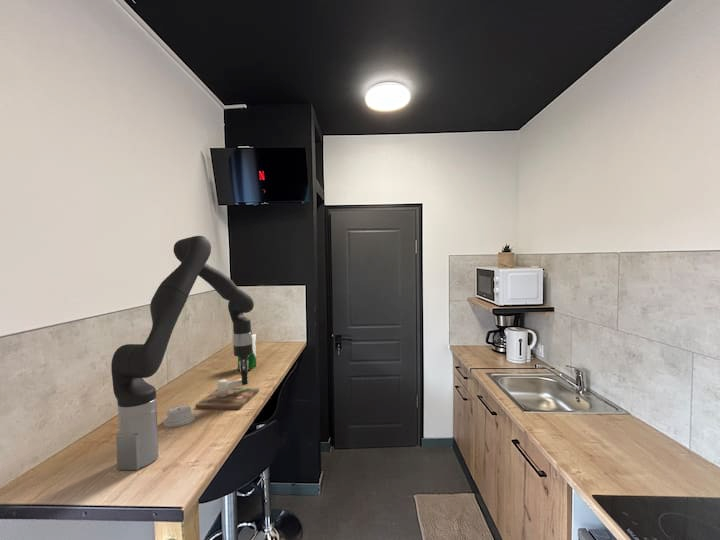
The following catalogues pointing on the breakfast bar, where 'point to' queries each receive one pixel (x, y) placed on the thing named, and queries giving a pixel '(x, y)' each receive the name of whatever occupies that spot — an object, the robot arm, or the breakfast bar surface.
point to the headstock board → (228, 399)
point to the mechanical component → (179, 416)
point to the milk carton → (253, 356)
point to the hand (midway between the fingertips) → (244, 384)
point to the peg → (228, 386)
